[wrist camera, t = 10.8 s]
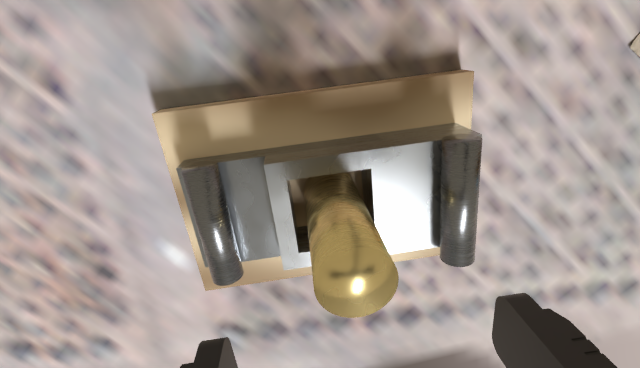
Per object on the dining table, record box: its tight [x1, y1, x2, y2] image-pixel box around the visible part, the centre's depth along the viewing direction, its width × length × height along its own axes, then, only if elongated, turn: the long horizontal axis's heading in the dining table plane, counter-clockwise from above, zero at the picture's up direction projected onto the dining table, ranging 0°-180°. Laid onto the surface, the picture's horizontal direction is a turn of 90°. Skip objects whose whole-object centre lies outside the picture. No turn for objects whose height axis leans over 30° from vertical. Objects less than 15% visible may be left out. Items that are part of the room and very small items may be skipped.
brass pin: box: [304, 172, 398, 318], centre depth 17 cm, size 3×3×9 cm
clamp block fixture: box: [152, 70, 482, 291], centre depth 19 cm, size 12×18×6 cm, turn 97°
